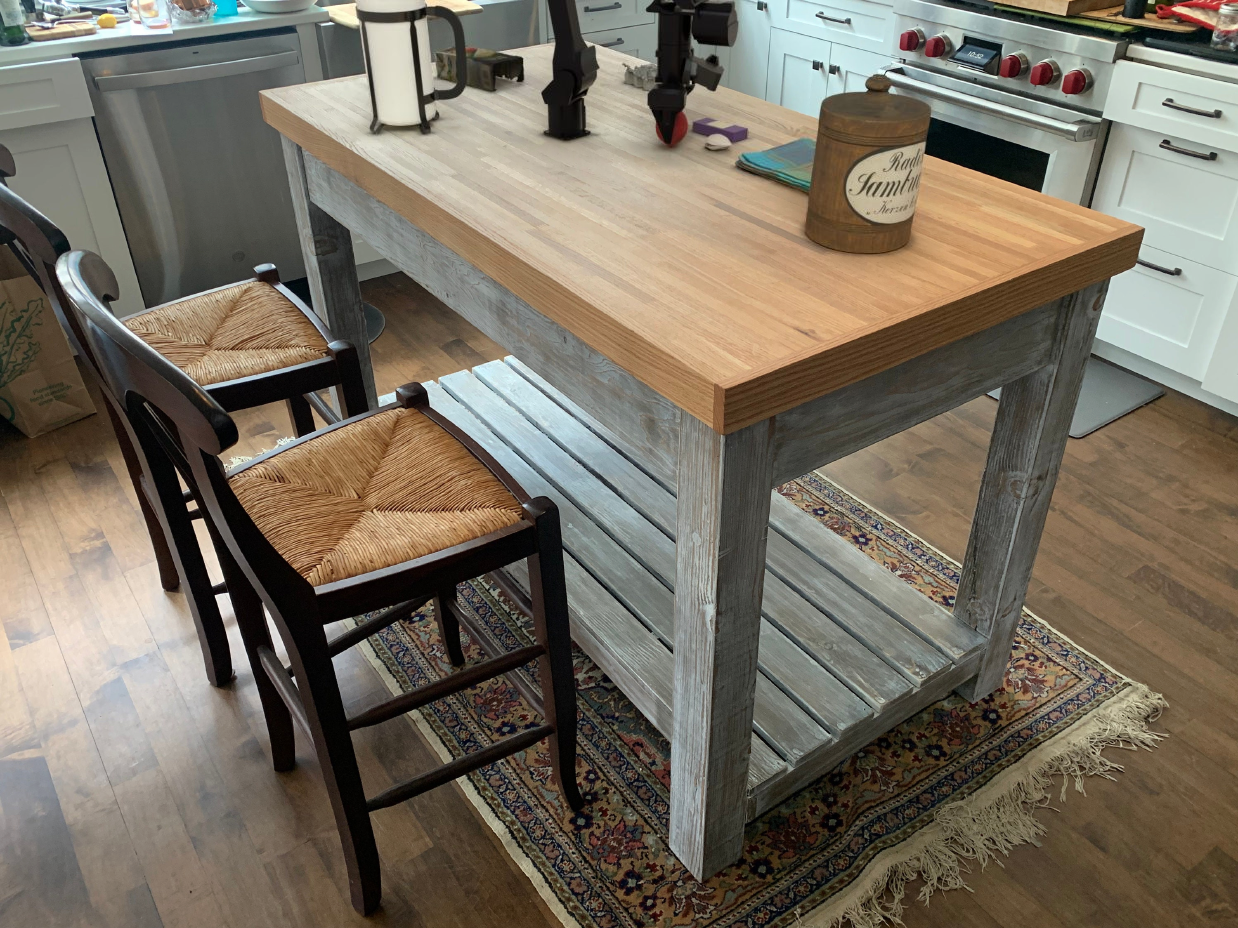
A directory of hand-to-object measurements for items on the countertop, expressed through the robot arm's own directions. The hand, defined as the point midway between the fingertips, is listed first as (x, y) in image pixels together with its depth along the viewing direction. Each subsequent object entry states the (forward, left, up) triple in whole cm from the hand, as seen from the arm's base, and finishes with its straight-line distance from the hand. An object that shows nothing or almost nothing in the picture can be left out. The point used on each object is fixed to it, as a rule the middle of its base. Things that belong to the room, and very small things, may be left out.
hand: (671, 135), depth 175 cm
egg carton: (+29, +34, -2) cm, 45 cm away
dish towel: (+6, -28, -2) cm, 29 cm away
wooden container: (-11, -47, -2) cm, 48 cm away
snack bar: (+12, -1, -2) cm, 12 cm away
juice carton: (+5, +62, -2) cm, 62 cm away
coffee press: (-25, +44, -2) cm, 51 cm away
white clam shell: (+5, -7, -2) cm, 9 cm away
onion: (0, 0, -2) cm, 2 cm away
